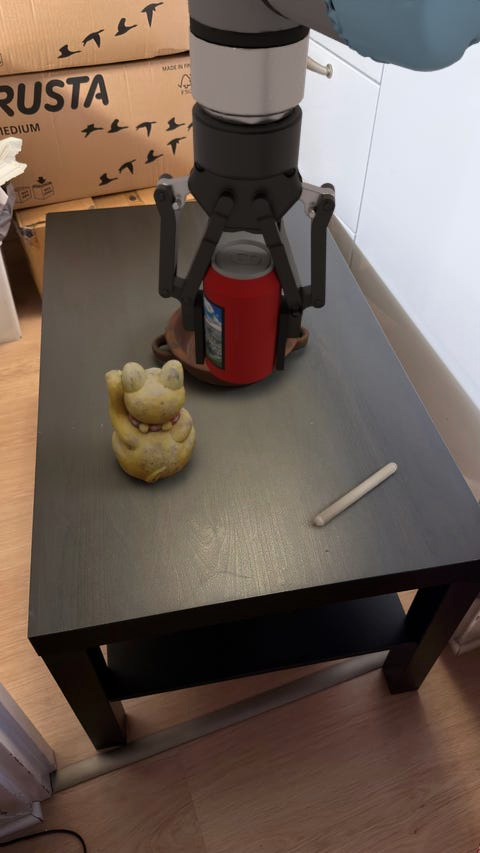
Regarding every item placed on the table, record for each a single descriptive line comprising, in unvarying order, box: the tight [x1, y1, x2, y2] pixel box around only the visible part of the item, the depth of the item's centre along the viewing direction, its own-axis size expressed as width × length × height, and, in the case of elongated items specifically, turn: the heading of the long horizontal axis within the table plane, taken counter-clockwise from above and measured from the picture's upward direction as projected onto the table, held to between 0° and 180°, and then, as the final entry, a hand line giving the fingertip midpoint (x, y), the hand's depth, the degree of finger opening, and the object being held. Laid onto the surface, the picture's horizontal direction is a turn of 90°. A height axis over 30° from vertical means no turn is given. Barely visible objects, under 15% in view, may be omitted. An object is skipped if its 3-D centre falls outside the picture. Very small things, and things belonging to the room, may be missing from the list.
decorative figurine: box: [104, 360, 197, 483], centre depth 69 cm, size 10×8×15 cm
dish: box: [151, 305, 310, 387], centre depth 86 cm, size 18×22×5 cm
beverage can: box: [202, 238, 283, 384], centre depth 55 cm, size 7×7×12 cm
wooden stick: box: [314, 461, 398, 527], centre depth 72 cm, size 1×13×1 cm, turn 130°
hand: (240, 357), depth 59 cm, fingers closed on beverage can, 7 cm apart
